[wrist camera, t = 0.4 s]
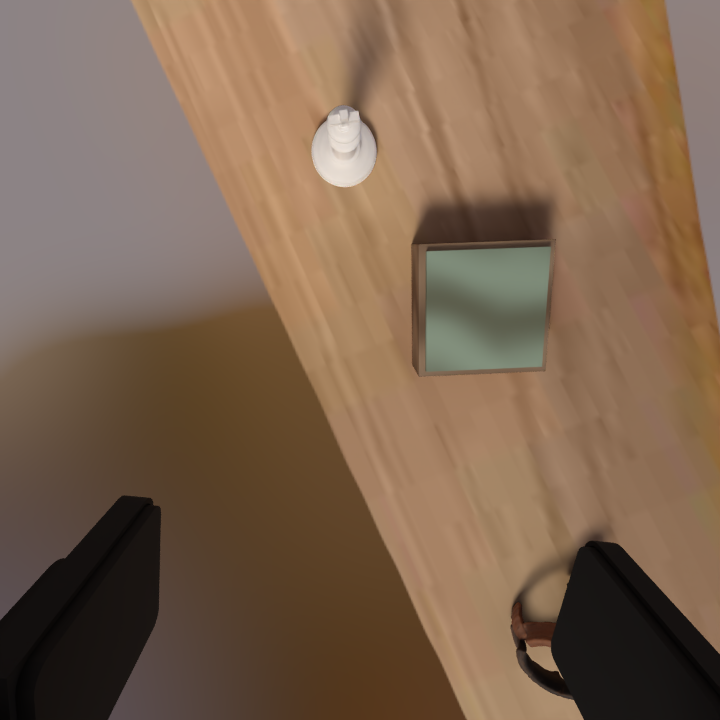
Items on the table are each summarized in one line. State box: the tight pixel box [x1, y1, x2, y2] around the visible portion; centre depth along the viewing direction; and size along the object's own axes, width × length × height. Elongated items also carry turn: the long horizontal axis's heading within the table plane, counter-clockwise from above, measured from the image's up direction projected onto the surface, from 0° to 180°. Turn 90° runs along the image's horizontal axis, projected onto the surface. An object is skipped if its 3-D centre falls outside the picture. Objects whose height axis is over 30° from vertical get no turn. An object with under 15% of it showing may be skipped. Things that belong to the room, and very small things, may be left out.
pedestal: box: [411, 239, 556, 377], centre depth 34 cm, size 10×10×4 cm
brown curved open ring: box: [511, 583, 574, 700], centre depth 42 cm, size 12×10×8 cm
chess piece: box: [312, 105, 377, 187], centre depth 28 cm, size 5×5×10 cm
